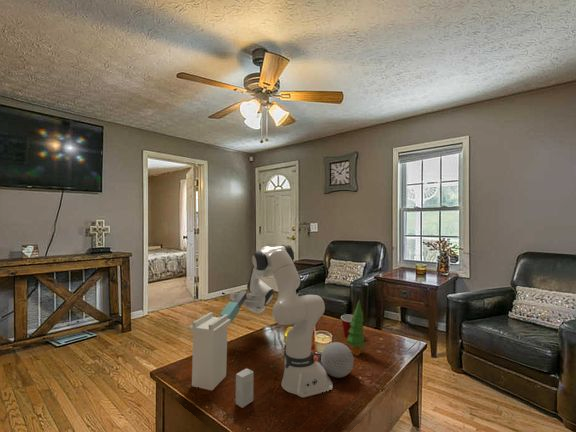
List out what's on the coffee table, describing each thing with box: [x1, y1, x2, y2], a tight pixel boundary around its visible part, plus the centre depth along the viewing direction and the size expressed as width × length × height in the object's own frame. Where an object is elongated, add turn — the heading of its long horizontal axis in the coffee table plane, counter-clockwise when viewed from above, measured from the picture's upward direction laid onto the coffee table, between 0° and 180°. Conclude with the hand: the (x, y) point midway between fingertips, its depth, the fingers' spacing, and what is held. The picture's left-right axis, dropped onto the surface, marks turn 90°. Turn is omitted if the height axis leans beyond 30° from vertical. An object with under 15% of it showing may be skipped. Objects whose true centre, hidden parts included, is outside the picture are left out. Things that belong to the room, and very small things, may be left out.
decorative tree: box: [346, 298, 365, 355], centre depth 163 cm, size 10×9×30 cm
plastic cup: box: [340, 314, 354, 339], centre depth 184 cm, size 11×11×12 cm
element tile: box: [283, 325, 293, 343], centre depth 180 cm, size 15×15×5 cm
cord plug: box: [219, 289, 248, 325], centre depth 154 cm, size 22×5×5 cm, turn 162°
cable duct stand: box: [189, 311, 231, 391], centre depth 132 cm, size 14×12×28 cm
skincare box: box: [235, 367, 255, 409], centre depth 117 cm, size 6×4×12 cm
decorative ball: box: [320, 341, 355, 379], centre depth 139 cm, size 15×15×15 cm
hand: (242, 294), depth 162 cm, fingers closed on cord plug, 3 cm apart
